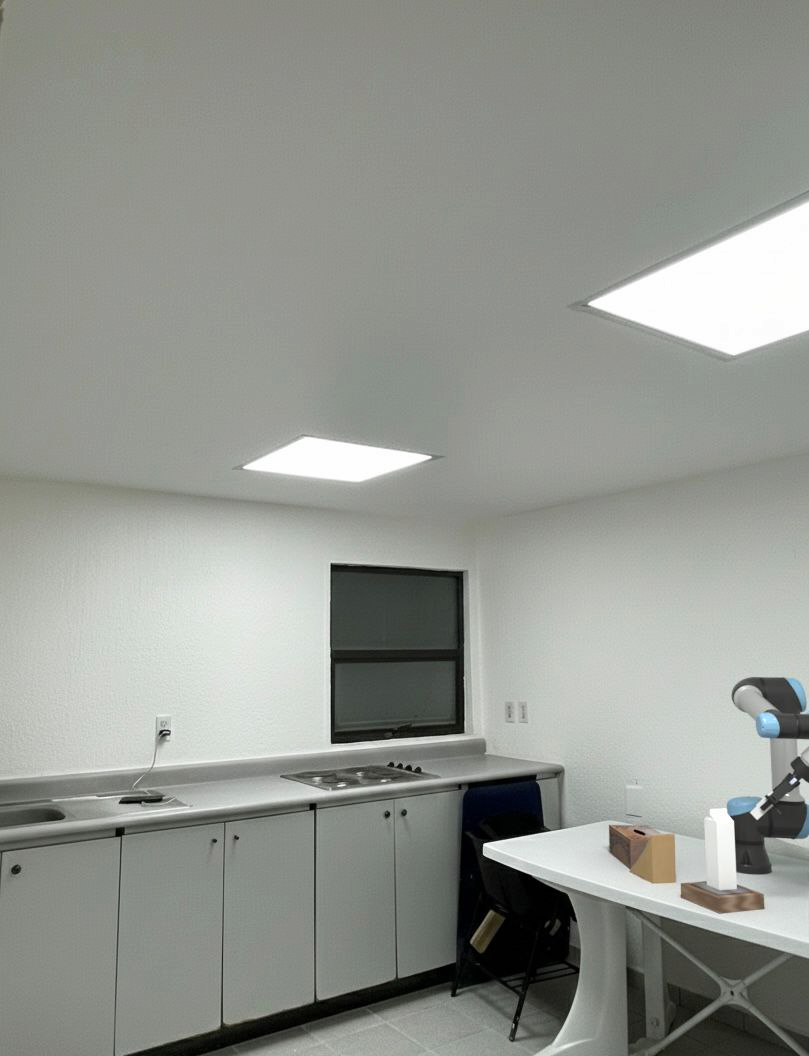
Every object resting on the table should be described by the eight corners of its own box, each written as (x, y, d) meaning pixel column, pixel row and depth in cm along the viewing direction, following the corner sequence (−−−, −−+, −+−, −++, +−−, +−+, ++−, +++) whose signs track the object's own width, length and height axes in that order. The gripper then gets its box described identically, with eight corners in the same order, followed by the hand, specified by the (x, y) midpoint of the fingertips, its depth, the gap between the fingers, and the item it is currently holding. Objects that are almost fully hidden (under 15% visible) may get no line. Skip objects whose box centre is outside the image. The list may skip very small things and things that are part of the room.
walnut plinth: (724, 893, 244) (723, 878, 244) (764, 908, 229) (763, 892, 230) (681, 897, 238) (680, 882, 239) (719, 913, 223) (718, 897, 224)
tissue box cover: (673, 871, 270) (672, 840, 271) (631, 871, 269) (630, 839, 271) (648, 854, 295) (647, 825, 297) (609, 853, 295) (608, 824, 296)
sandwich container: (651, 870, 270) (649, 824, 272) (676, 883, 255) (675, 833, 258) (627, 872, 268) (626, 824, 270) (652, 884, 253) (651, 834, 256)
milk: (737, 889, 232) (734, 810, 236) (719, 890, 231) (716, 810, 234) (723, 884, 238) (720, 806, 242) (705, 885, 237) (703, 806, 240)
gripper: (817, 781, 224) (761, 830, 229) (822, 770, 245) (771, 815, 250) (795, 759, 227) (740, 808, 232) (802, 750, 248) (752, 795, 254)
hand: (756, 812), depth 241 cm, fingers open, 13 cm apart
